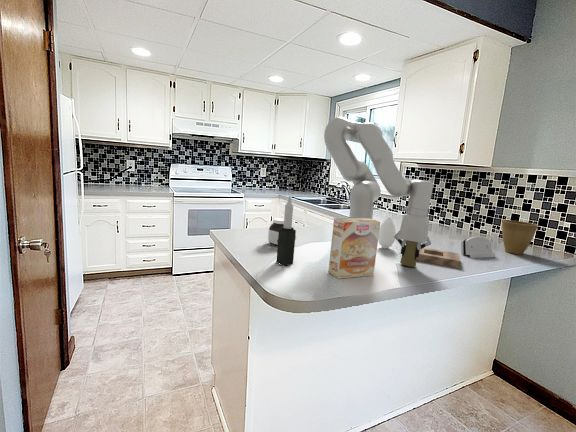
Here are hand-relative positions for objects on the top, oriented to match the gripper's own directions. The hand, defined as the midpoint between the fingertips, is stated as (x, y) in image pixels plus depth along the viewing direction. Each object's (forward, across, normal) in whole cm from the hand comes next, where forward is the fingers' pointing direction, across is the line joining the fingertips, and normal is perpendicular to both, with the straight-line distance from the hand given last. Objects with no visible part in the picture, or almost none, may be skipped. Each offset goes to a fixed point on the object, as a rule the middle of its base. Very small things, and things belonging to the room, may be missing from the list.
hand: (409, 257), depth 125 cm
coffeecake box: (+4, -17, -24) cm, 30 cm away
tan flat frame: (+3, +9, +18) cm, 20 cm away
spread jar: (+6, -54, -4) cm, 54 cm away
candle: (+5, -41, -28) cm, 50 cm away
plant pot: (+2, +47, +63) cm, 79 cm away
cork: (+3, 0, 0) cm, 3 cm away
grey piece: (+3, +28, +42) cm, 50 cm away
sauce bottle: (+4, -12, +23) cm, 26 cm away
